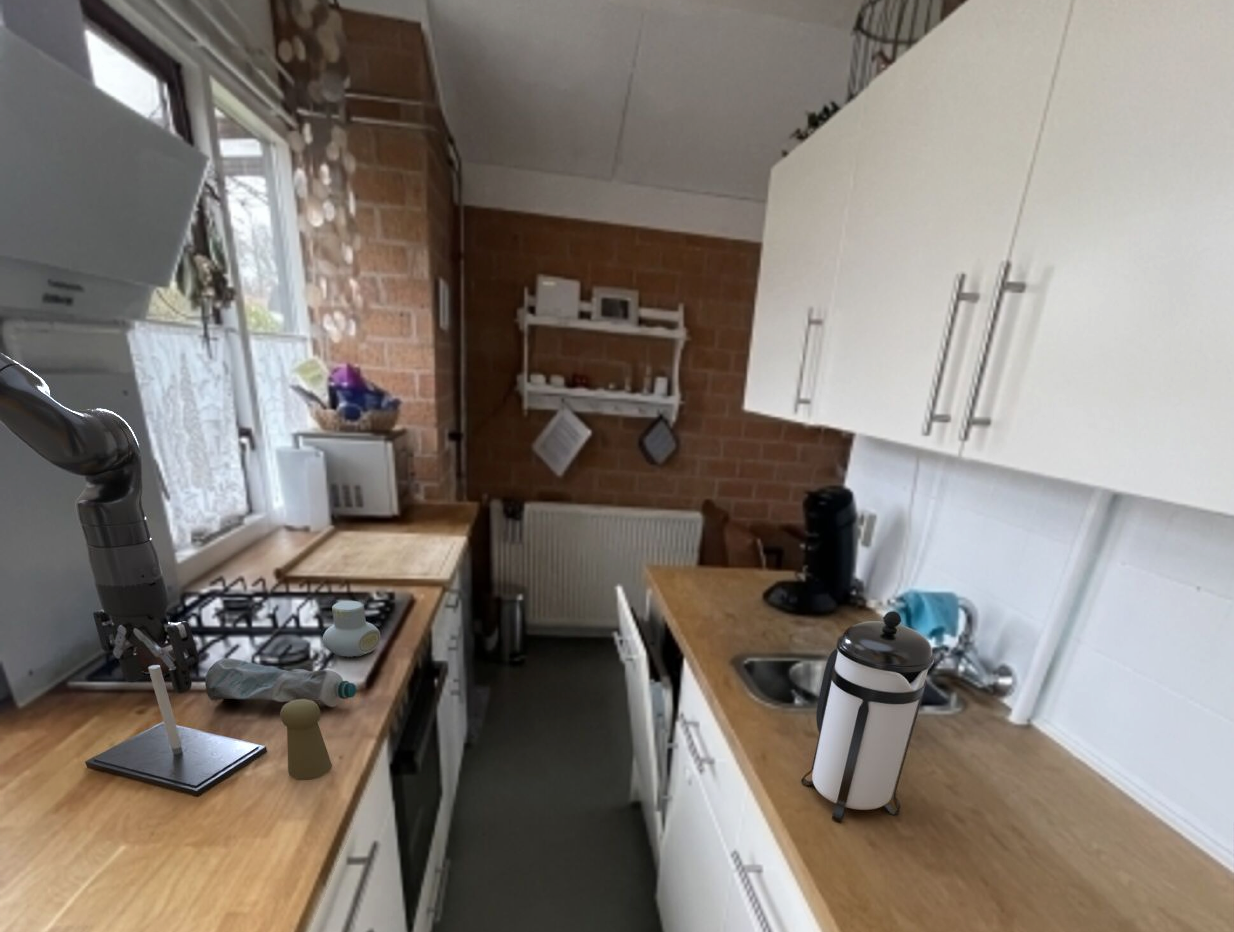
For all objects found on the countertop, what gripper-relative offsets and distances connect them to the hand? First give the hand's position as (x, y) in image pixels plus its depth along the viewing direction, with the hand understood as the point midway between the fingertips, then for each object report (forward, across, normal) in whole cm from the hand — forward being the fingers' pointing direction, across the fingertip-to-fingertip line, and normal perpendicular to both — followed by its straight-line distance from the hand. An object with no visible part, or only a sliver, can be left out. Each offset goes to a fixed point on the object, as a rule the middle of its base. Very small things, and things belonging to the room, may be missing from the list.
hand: (159, 685), depth 99 cm
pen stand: (+12, -29, +24) cm, 40 cm away
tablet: (+12, 0, 0) cm, 12 cm away
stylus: (+11, 0, 0) cm, 11 cm away
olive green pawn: (+12, +19, +5) cm, 23 cm away
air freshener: (+12, -2, +44) cm, 46 cm away
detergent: (+12, +1, +21) cm, 24 cm away
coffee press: (+12, +96, +29) cm, 101 cm away
